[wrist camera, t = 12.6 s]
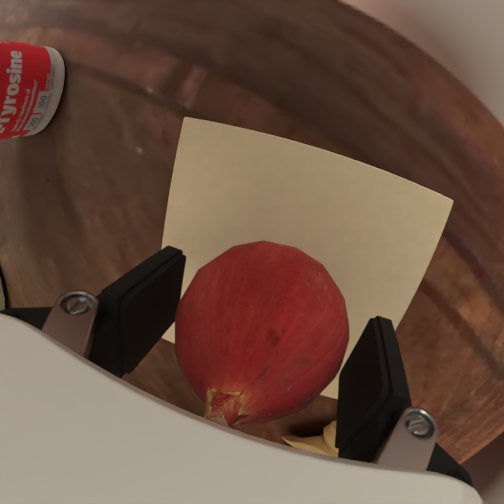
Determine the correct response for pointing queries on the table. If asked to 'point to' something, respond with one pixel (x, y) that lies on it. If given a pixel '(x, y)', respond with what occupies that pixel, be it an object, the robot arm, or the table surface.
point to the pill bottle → (28, 87)
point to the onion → (260, 333)
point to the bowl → (1, 297)
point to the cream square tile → (303, 216)
